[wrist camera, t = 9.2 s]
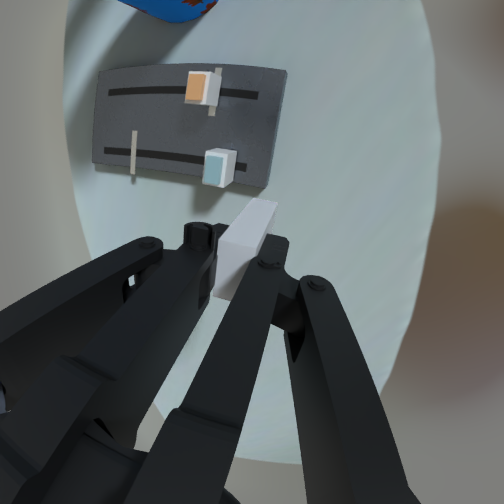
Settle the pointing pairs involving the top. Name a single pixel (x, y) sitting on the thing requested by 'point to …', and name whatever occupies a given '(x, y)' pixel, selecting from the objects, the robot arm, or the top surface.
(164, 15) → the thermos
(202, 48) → the top surface
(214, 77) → the fader
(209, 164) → the fader
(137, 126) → the console
